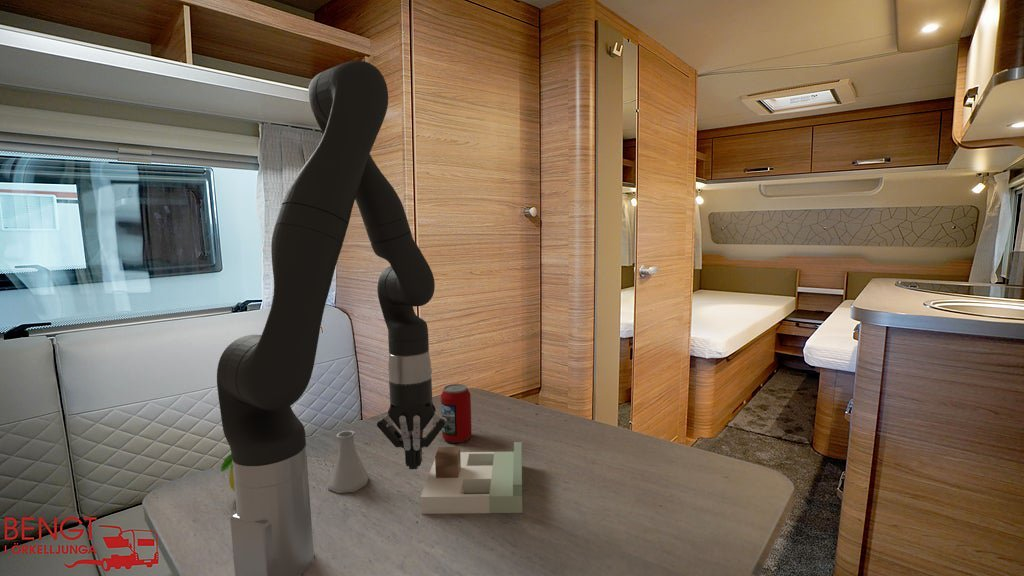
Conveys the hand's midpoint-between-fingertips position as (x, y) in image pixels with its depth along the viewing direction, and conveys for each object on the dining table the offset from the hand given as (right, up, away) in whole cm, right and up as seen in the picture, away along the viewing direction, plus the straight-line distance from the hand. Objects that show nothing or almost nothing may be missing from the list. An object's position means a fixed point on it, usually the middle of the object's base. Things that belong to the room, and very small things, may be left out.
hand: (414, 467), depth 89 cm
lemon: (-30, -5, -1) cm, 31 cm away
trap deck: (+11, -4, 0) cm, 12 cm away
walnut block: (+6, -1, 0) cm, 6 cm away
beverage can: (+5, -2, +22) cm, 23 cm away
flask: (-13, -4, +2) cm, 14 cm away
